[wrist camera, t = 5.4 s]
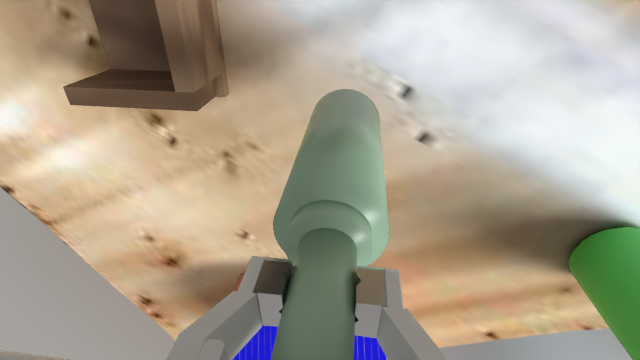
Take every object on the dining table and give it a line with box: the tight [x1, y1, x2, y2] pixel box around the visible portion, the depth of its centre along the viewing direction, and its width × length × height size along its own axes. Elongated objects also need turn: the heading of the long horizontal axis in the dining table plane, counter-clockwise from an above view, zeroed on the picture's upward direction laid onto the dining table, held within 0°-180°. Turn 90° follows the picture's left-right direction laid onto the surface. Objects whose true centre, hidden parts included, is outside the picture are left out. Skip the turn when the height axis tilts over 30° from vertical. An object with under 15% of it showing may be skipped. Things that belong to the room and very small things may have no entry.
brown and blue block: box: [232, 274, 386, 360], centre depth 43 cm, size 12×20×12 cm, turn 98°
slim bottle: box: [271, 89, 389, 360], centre depth 16 cm, size 5×5×20 cm
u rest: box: [63, 0, 229, 111], centre depth 27 cm, size 11×11×7 cm
